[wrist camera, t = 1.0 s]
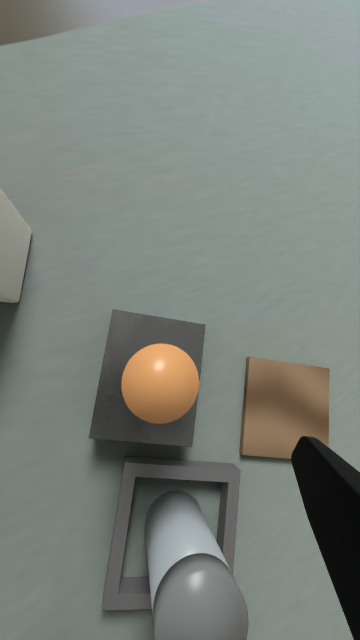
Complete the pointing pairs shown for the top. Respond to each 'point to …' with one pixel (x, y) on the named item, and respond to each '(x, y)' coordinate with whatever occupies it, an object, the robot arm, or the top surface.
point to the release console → (121, 345)
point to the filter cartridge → (190, 575)
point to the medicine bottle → (12, 250)
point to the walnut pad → (283, 407)
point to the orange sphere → (160, 383)
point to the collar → (129, 589)
